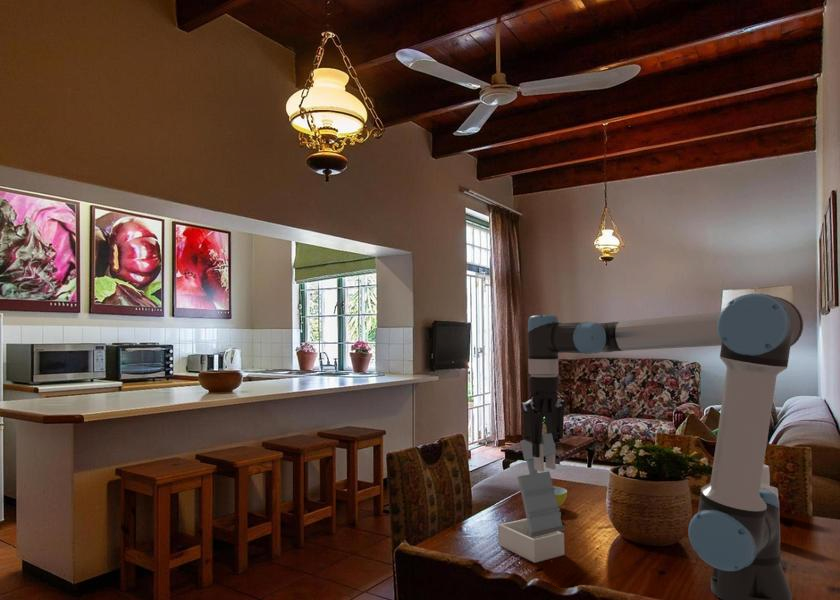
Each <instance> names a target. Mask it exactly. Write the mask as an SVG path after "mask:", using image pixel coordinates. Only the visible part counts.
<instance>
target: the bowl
mask: <svg viewBox="0 0 840 600" xmlns="http://www.w3.org/2000/svg"><path fill="white" fill-rule="evenodd" d="M553 488H555V490H554V493H555V497H556V501H557V505H558V508H560V507H561V506H562V505H563V504H564V503H565V502H566V499H567V497H568V490H567V489H565V488H563V487H560V486H555V485H554V486H553Z"/></svg>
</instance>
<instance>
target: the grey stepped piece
mask: <svg viewBox="0 0 840 600" xmlns="http://www.w3.org/2000/svg"><path fill="white" fill-rule="evenodd" d="M519 442H520V446H521V451H522V455H523V460H524V461H526V465H527V468H528V472H529V474H525V475H519V476H517V479H518V485H519V489H520V494H521V499H522V503H523V507H524V512H525V517H526V518H527V522H528V527H529V531H530V536H531V537H536V536H540V535H544V534H548V533H553V532H557V531H559V532H562V531H565V530H566V526H565V525H563V523H562V519H561V517H560V514H559V512H560V511H561V508H560V507H558V505H557V501H556V497H555V493H554V490H555V488H553V481H552V477H551V472H550V471H541V472H538V470H535V469H534V457H533V455H532V443H530V442H528V441H526V440H525V439H522V440H520V441H519ZM541 444H543V451H544V457H546V456H548V455H552V454H556V449H555V444H554V440H553V436H552V433H549V434H547V433H542V436H541ZM556 455H557V454H556Z"/></svg>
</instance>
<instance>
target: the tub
mask: <svg viewBox="0 0 840 600" xmlns="http://www.w3.org/2000/svg"><path fill="white" fill-rule="evenodd" d="M497 525H498V527H497V528H498V530H497V531H498V533H497V534H498V535H497V536H498V538H497V539H498V541H497V542H498V543H497V544H498V545H499V546H500V547H502V548H504V549H506V550H508V551H510V552H512V553H514V554H516V555H518V556H520V557H522V558H523V559H526V560H528V561H530V562H532V563H539V562H544V561H546V560H550V559H555V558H558V557H561V556H565V533H564V532H562V531H557V532H553V533H548V534H544V535H540V536H541V537H542V538H537V539H534V538H536V537H538V536H536V537H531V536H530V531H529V527H528V522H527V517H526V518H522V519H518V520H514V521H508V522H503V523H500V524H499V523H498V524H497Z"/></svg>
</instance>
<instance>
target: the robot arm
mask: <svg viewBox="0 0 840 600" xmlns="http://www.w3.org/2000/svg"><path fill="white" fill-rule="evenodd" d="M527 321H528V322H527V323H528V325H527V344H528V349H527V350H528V358H527V359H528V364H527V365H528V374H529V375H530V376H528V390H529V392H530V395H529V397H528V398H529V399H528V400H527V401H525V402H524V401H523V402H521V403H520V407H521V409H522V412H523V414H522V415H523V425H524V427H523V428H524V440H526V441H528V442H530V443H532V455H533V457H534V469H535V470H537V471H539V472H545V468H547V469H550V470H556V469H557V468H556V456H557V454H558V450H557V446H558V443H560V442H561V440H563V439H564V424H565V421H564V420H565V408H566V405H567V401H566V399H565V400H564V399H560V398H559V396H558V391H560V390H559V387H560V386H559V385H560V381H559V377H558V375H559V373H560V372H559V354H565V353H566V354H567V353H568V354H584V355H588V354H589V355H591V354H599V353H614V352H624V351H627V352H628V351H644V350H663V349H680V348H699V347H701V348H702V347H717V346H718V347H719V346H721V347H720V353H719V359H721V361H722V362H723V363H724V365H725V366H726V371H725V372H726V373H725V379H724V385H723V393H722V394H723V395H722V399H721V400H722V401H721V408H720V413H719V414H720V415H719V420H718V426H717V427H718V428H717V436H716V442H715V448H714V449H715V450H714V456H713V461H712V462H713V463H712V470H711V475H710V476H711V478H710V482H709V483H707V484H706V485H704V486H703V487H701V489H700V495H699V502H698V507H697V508H698V509H697V513H695V514H694V515H693V517H692V518H691V520H690V522H689V524H688V539H689V542H690V544H691V547H692V548H693V550H694V551H695V553H696V554H697V555H698V556H699V558H700V559H701V560H702V561H704V562H705V563H706V564H707V565H709V566H711V567H713V571H712V574H711V577H710V590H711V592H712V594H713V595H714V596H715V595H716V596H715V597H717V598H718V599H719V598H720V599H719V600H721V599H722V600H793V598H792V597H793V596H792V595H793V594H792V590H791V588H790V586H789V582H788V580H787V578H786V575H785V572H784V570H783V567H782V564H781V561H782V560H781V530H780V531H779V517H780V508H781V507H780V504H779V505H778V500H779V497H778V498H777V496H776V494H775V493H773V492H771V491H770V490H769V491H768V490H764V489H760V486H761V479H762V472H763V466H764V465H765V459H766V452H767V451H766V450H767V446H768V445H767V443H768V437H769V431H770V430H769V429H770V425H771V418H772V417H771V416H772V410H773V403H774V398H775V397H774V396H775V389H776V382H777V376H778V375H779V374H780V373H782V372H784V371H785V370H786V369H788V365H789V359H790V352H791V347H793V346H794V345H795V344H796V343H797V342H798V341H799V339H800V338H801V336H802V334H803V331H804V320H803V317H802V313H801V312H800V310H799V309H798V308H797V307H796V305H795V304H793V303H792V302H790V301H789V300H787V299H784V298H782V297H779V296H773V295H770V294H765V293H749V294H748V293H747V294H743V295H740V296H736V297H735V298H733V299H732V300H730V301H729V302H728V303H726V304H725V305H724V306H723V308H722V309H721V310H720V311H716V312H715V311H714V312H706V313H704V312H703V313H696V314H686V315H674V316H666V317H665V316H663V317H653V318H644V319H643V318H642V319H635V320H633V319H631V320H623V321H622V320H621V321H609V322H592V321H582V322H581V321H580V322H559V318H558V317H557V315H554V314H553V315H551V314H548V315H547V314H546V315H544V314H543V315H540V314H539V315H538V314H537V315H531V316H530V317H529V318H528V320H527ZM544 420H545V428H546V434H549V433H552V436H553V440H554V444H555V449H556V454H552V455H548V456H544V451H543V444H541V436H542V434H543V424H544ZM544 457H545V459H544ZM544 460H545V462H544ZM544 466H545V467H544Z"/></svg>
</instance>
